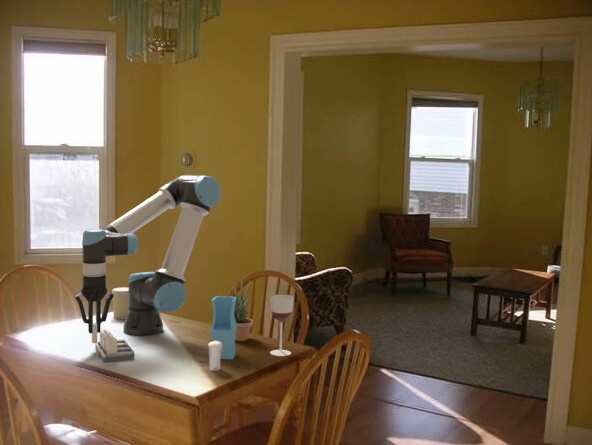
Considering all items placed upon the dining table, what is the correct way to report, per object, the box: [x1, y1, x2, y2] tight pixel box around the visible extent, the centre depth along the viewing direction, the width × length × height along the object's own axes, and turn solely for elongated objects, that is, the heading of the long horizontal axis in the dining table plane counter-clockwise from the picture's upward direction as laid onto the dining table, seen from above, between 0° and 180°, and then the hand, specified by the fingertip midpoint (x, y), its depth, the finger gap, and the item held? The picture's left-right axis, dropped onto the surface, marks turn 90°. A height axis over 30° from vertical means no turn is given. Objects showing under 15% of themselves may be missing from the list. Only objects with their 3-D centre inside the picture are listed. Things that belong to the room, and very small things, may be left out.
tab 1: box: [99, 328, 111, 346], centre depth 216 cm, size 3×4×5 cm
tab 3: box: [106, 336, 118, 354], centre depth 207 cm, size 3×4×5 cm
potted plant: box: [230, 276, 254, 342], centre depth 235 cm, size 10×10×25 cm
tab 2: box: [102, 333, 114, 350], centre depth 211 cm, size 3×4×5 cm
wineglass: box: [269, 294, 295, 357], centre depth 219 cm, size 8×9×20 cm
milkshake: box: [205, 339, 222, 372], centre depth 199 cm, size 4×5×10 cm
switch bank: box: [94, 339, 135, 363], centre depth 213 cm, size 10×17×2 cm, turn 26°
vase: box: [209, 295, 237, 360], centre depth 214 cm, size 8×8×20 cm
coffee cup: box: [111, 286, 129, 320], centre depth 265 cm, size 9×9×12 cm
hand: (94, 342), depth 215 cm, fingers closed
